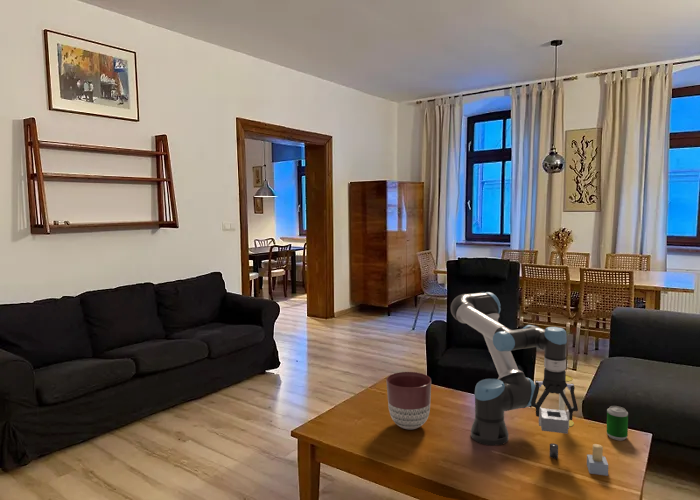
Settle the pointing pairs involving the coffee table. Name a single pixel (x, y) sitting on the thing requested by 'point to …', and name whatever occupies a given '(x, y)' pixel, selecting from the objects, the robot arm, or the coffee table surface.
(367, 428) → the coffee table surface
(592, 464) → the blue-gray block
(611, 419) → the soda can
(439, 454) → the coffee table surface
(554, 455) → the ball
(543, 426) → the grey hollow block
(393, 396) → the planter
